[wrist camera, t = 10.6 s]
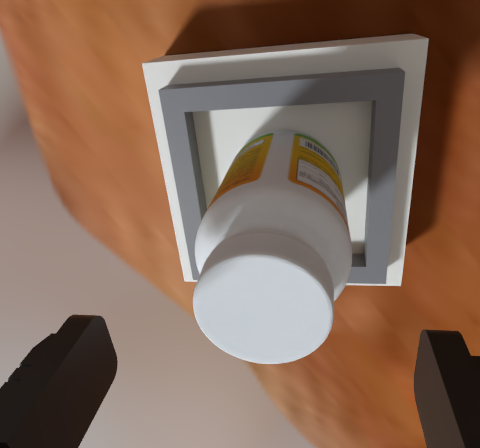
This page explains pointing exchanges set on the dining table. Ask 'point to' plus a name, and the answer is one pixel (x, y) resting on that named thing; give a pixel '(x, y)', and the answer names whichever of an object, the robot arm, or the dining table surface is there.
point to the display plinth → (297, 119)
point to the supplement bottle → (273, 250)
